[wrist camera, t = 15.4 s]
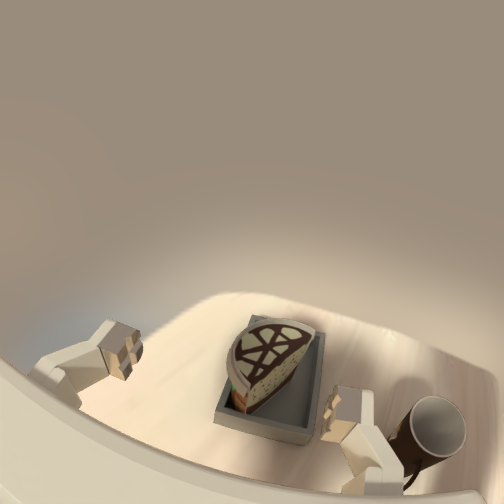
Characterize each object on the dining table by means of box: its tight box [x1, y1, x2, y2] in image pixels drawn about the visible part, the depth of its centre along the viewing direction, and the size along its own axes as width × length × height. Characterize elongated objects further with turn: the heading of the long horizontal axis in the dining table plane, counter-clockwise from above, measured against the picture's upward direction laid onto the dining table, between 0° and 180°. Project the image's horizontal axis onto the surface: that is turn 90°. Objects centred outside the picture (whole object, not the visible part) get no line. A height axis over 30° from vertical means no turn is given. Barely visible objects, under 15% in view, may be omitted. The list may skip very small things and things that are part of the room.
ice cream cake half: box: [226, 318, 316, 415], centre depth 35 cm, size 12×6×10 cm, turn 136°
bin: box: [213, 315, 325, 446], centre depth 39 cm, size 12×18×4 cm, turn 166°
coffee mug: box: [387, 395, 467, 491], centre depth 27 cm, size 12×9×10 cm
